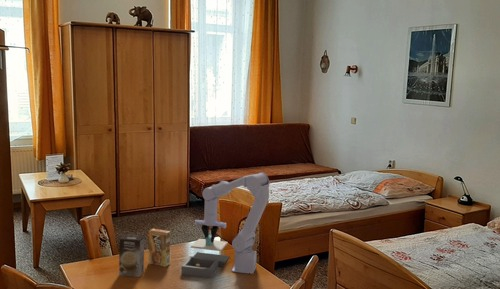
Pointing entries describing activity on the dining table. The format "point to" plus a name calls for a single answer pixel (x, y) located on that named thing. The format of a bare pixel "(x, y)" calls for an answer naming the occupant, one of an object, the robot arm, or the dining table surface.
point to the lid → (209, 244)
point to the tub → (199, 267)
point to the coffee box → (131, 255)
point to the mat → (213, 257)
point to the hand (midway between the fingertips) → (209, 241)
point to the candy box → (159, 247)
